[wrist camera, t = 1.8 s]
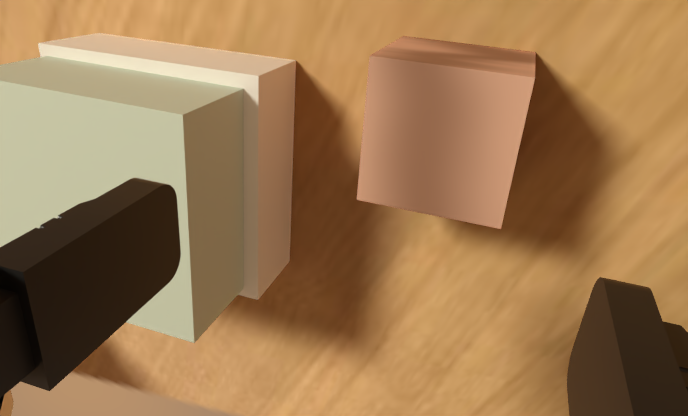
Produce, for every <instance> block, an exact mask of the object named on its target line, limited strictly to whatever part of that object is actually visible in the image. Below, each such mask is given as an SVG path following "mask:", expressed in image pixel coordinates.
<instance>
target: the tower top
mask: <svg viewBox="0 0 688 416" xmlns="http://www.w3.org/2000/svg"><path fill="white" fill-rule="evenodd" d="M132 178H140V179H145V180H150V181H154V182H159V183H164V184H168V185H171V186H172V187H173V188H174V190H175V192H176V196H177V206H178V220H179V234H180V249H181V257H180V263H179V266H178V269H177V272H176V274H175V275H174V277H173V279H172V280H171V281H170V282H169V283H168V284H167V285H166V286H165V287H164V288H163V289H162V290H160V291H159V292H158V293H157V294H156V295H155V296H154V297H153V298H152V299H151V300H149V301H148V302H147V303H146V304H145V305H144V306H143V307H142V308H141V309H140V310H138V311H137V312H136V313H135V314H134V315H133V316H132V317H131V318H130V319H129V320H127V321H126V322H127V323H130V324H133V325H137V326H140V327H143V328H147V329H150V330H153V331H156V332H160V333H163V334H166V335H170V336H173V337H176V338H179V339H183V340H186V341H189V342H193V343H195V342H196V341H197V340H198V338H199V337H200V336H201V335H202V334H203V333H204V332H205V331H206V330H207V328H208V327H209V326H210V325H211V324H212V323H213V322H214V321H215V320H216V318H217V317H218V316H219V315H220V314H221V313H222V312H223V311H224V310H225V308H226V307H227V306H228V305H229V304H230V303H231V302H232V301H233V300H234V298H235V297H236V296H237V295H238V294H239V293H240V292H241V291H242V290H243V288H244V189H243V88H237V87H231V86H225V85H219V84H213V83H207V82H201V81H195V80H190V79H184V78H178V77H172V76H166V75H160V74H154V73H148V72H142V71H136V70H130V69H124V68H118V67H112V66H106V65H100V64H94V63H88V62H82V61H76V60H70V59H64V58H58V57H52V56H44V57H39V58H34V59H29V60H23V61H18V62H13V63H8V64H3V65H0V247H2V246H3V245H5V244H7V243H9V242H11V241H12V240H14V239H16V238H18V237H20V236H22V235H23V234H25V233H27V232H29V231H31V230H32V229H34V228H40V225H41V224H43V223H45V222H47V221H49V220H50V219H52V218H58V215H60V214H61V213H63V212H65V211H67V210H69V209H70V208H72V207H74V206H76V205H78V204H80V203H83V202H86V201H89V200H93V199H96V198H97V197H99V196H101V195H103V194H104V193H106V192H108V191H110V190H112V189H113V188H115V187H117V186H119V185H120V184H122V183H124V182H126V181H128V180H129V179H132Z"/></svg>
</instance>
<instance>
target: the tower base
mask: <svg viewBox="0 0 688 416" xmlns="http://www.w3.org/2000/svg"><path fill="white" fill-rule="evenodd" d="M38 45H39V51H40V57H44V56H52V57H58V58H64V59H70V60H76V61H82V62H88V63H94V64H100V65H106V66H112V67H118V68H124V69H130V70H136V71H142V72H148V73H154V74H160V75H166V76H172V77H178V78H184V79H190V80H195V81H201V82H207V83H213V84H219V85H225V86H231V87H237V88H243V189H244V288H243V290H242V291H241V292H240V293H239V294H238V295H241V296H244V297H248V298H252V299H256V300H258V299H259V298H260V297H261V296H262V295H263V293H264V292H265V291H266V290H267V288H268V287H269V286H270V285H271V284H272V282H273V281H274V280H275V279H276V277H277V276H278V275H279V274H280V273H281V271H282V270H283V269H284V268H285V266H286V265H287V264H288V263H289V262H290V237H291V206H292V174H293V143H294V111H295V80H296V60H291V59H284V58H276V57H269V56H262V55H255V54H248V53H240V52H233V51H226V50H219V49H212V48H204V47H197V46H190V45H183V44H176V43H168V42H161V41H154V40H147V39H140V38H132V37H125V36H118V35H111V34H104V33H95V34H89V35H83V36H77V37H72V38H66V39H60V40H54V41H48V42H42V43H38Z"/></svg>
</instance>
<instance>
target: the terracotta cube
mask: <svg viewBox="0 0 688 416" xmlns="http://www.w3.org/2000/svg"><path fill="white" fill-rule="evenodd" d="M535 59H536V52H530V51H521V50H513V49H505V48H497V47H489V46H481V45H472V44H464V43H456V42H448V41H440V40H431V39H423V38H415V37H407V36H403V37H401V38H399V39H397V40H396V41H394V42H392V43H391V44H389V45H387V46H385V47H384V48H382V49H380V50H379V51H377V52H375V53H373V54H372V55H370V58H369V69H368V80H367V91H366V102H365V113H364V124H363V135H362V146H361V157H360V168H359V179H358V190H357V200H360V201H365V202H370V203H375V204H380V205H385V206H390V207H395V208H400V209H405V210H410V211H414V212H419V213H424V214H429V215H434V216H439V217H444V218H449V219H454V220H459V221H464V222H469V223H474V224H479V225H483V226H488V227H493V228H498V229H501V226H502V222H503V217H504V213H505V209H506V204H507V200H508V195H509V191H510V186H511V182H512V178H513V173H514V169H515V164H516V160H517V156H518V151H519V147H520V142H521V138H522V133H523V129H524V125H525V120H526V116H527V111H528V107H529V103H530V98H531V94H532V89H533V85H534V80H535Z"/></svg>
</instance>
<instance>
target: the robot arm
mask: <svg viewBox="0 0 688 416" xmlns="http://www.w3.org/2000/svg"><path fill="white" fill-rule="evenodd" d="M180 257H181V249H180V234H179V220H178V206H177V196H176V192H175V190H174V188H173V187H172V186H171V185H168V184H164V183H159V182H154V181H150V180H145V179H140V178H132V179H129V180H128V181H126V182H124V183H122V184H120V185H119V186H117V187H115V188H113V189H112V190H110V191H108V192H106V193H104V194H103V195H101V196H99V197H97V198H96V199H93V200H89V201H86V202H83V203H80V204H78V205H76V206H74V207H72V208H70V209H69V210H67V211H65V212H63V213H61V214H60V215H58V218H52V219H50V220H49V221H47V222H45V223H43V224H41V225H40V228H34V229H32V230H31V231H29V232H27V233H25V234H23V235H22V236H20V237H18V238H16V239H14V240H12V241H11V242H9V243H7V244H5V245H3V246H2V247H0V416H11V413H12V409H13V397H12V393H11V390H10V389H12V388H13V387H14V386H15V385H16V384H18V383H19V382H20V381H21V382H24V383H27V384H30V385H33V386H36V387H39V388H42V389H45V390H48V391H50V390H51V389H52V388H54V387H55V386H56V385H57V384H58V383H59V382H60V381H61V380H62V379H64V378H65V376H67V375H68V374H69V373H70V372H71V371H72V370H73V369H75V368H76V367H77V366H78V365H79V364H80V363H81V362H82V361H83V360H84V359H86V358H87V357H88V356H89V355H90V354H91V353H92V352H93V351H94V350H95V349H97V348H98V347H99V346H100V345H101V344H102V343H103V342H104V341H105V340H106V339H108V338H109V337H110V336H111V335H112V334H113V333H114V332H115V331H116V330H117V329H119V328H120V327H121V326H122V325H123V324H124V323H125V322H126V321H127V320H129V319H130V318H131V317H132V316H133V315H134V314H135V313H136V312H137V311H138V310H140V309H141V308H142V307H143V306H144V305H145V304H146V303H147V302H148V301H149V300H151V299H152V298H153V297H154V296H155V295H156V294H157V293H158V292H159V291H160V290H162V289H163V288H164V287H165V286H166V285H167V284H168V283H169V282H170V281H171V280H172V279H173V277H174V275H175V274H176V272H177V269H178V266H179V263H180ZM567 391H568V403H569V415H570V416H688V332H687V331H686V330H685V329H684V328H683V327H682V326H680V325H676V324H671V323H667V322H663V321H662V319H661V316H660V313H659V310H658V308H657V305H656V302H655V299H654V296H653V294H652V291H651V289H650V288H648V287H644V286H639V285H635V284H630V283H625V282H621V281H616V280H611V279H606V278H602V277H600V278H599V279H598V280H597V281H596V283H595V285H594V287H593V290H592V292H591V295H590V298H589V301H588V304H587V307H586V310H585V313H584V316H583V319H582V322H581V325H580V328H579V331H578V334H577V337H576V340H575V343H574V346H573V349H572V353H571V357H570V361H569V367H568V376H567Z"/></svg>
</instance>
